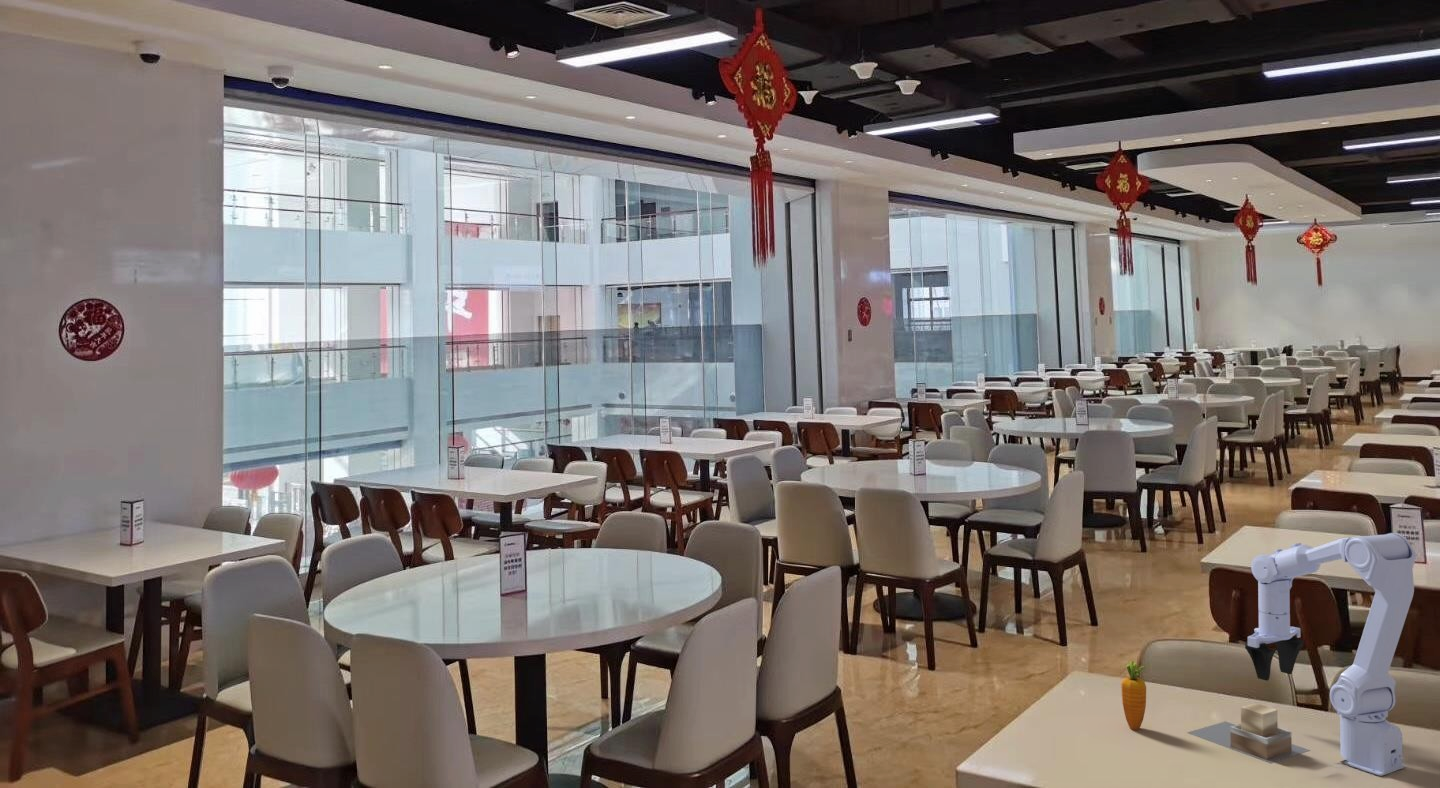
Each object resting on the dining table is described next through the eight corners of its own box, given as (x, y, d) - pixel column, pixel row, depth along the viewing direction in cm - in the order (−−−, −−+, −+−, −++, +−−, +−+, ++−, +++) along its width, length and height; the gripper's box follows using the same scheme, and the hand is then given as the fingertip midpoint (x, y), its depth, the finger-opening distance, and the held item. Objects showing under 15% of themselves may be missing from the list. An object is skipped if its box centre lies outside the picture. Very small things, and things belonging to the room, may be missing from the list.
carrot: (1125, 727, 208) (1124, 656, 208) (1150, 732, 205) (1149, 660, 205) (1118, 734, 205) (1117, 662, 204) (1143, 739, 201) (1142, 666, 201)
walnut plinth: (1291, 751, 191) (1291, 731, 191) (1266, 760, 187) (1266, 739, 187) (1255, 739, 197) (1254, 719, 197) (1230, 746, 194) (1230, 726, 194)
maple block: (1277, 735, 192) (1277, 709, 191) (1263, 739, 189) (1262, 714, 189) (1255, 727, 195) (1255, 702, 195) (1241, 732, 193) (1240, 707, 193)
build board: (1310, 755, 191) (1310, 750, 191) (1270, 768, 186) (1270, 763, 186) (1225, 726, 207) (1225, 721, 207) (1186, 737, 202) (1186, 732, 202)
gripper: (1277, 602, 213) (1278, 665, 214) (1233, 612, 207) (1234, 676, 207) (1310, 609, 207) (1310, 673, 207) (1265, 619, 200) (1266, 686, 201)
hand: (1274, 676), depth 207 cm, fingers open, 7 cm apart
